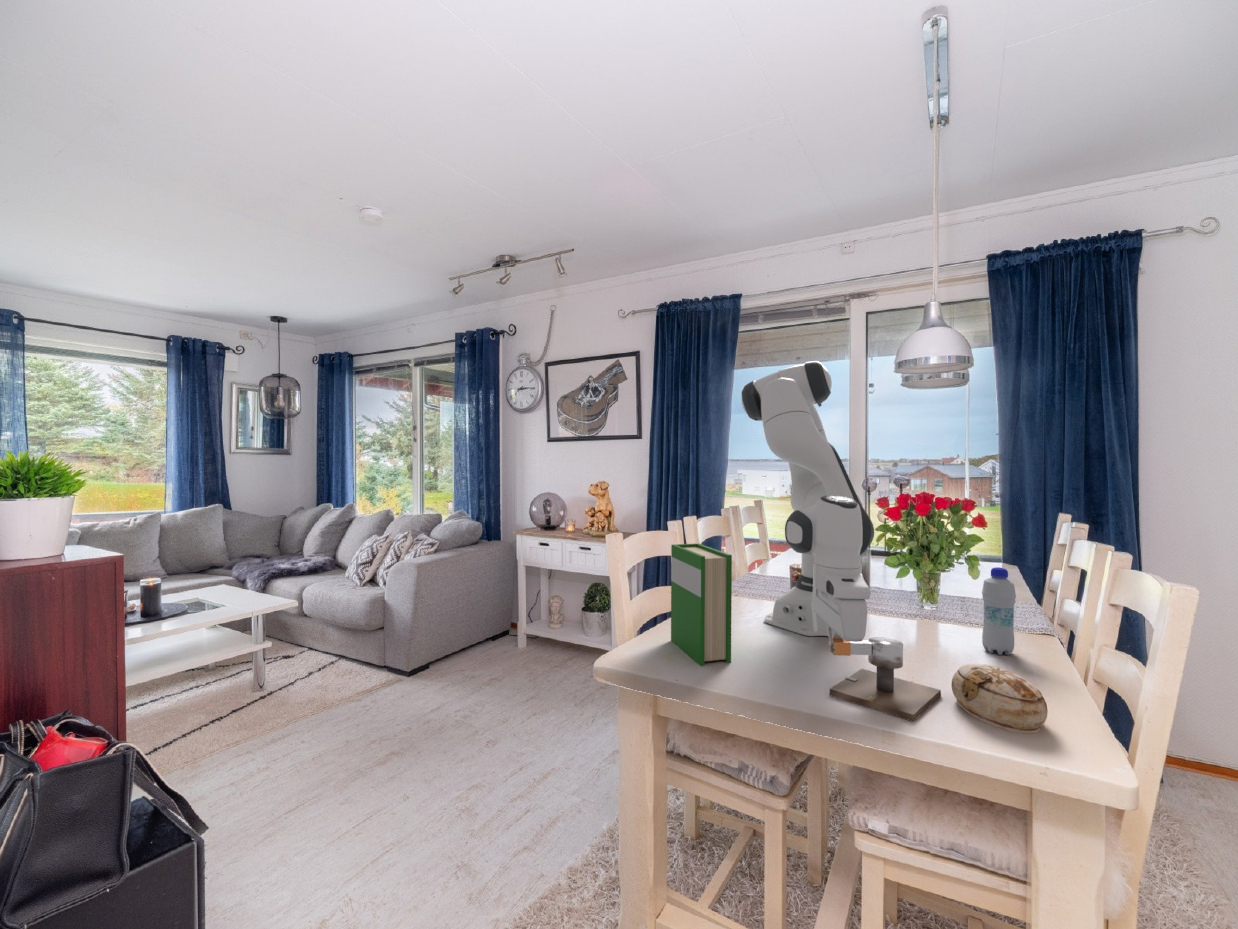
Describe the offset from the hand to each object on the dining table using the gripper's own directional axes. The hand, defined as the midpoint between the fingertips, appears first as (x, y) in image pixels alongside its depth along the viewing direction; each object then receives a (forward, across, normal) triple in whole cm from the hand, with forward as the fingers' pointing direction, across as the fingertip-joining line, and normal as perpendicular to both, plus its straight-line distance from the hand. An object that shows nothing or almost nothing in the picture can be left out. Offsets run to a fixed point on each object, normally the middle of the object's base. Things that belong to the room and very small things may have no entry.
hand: (834, 648), depth 110 cm
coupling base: (+8, +3, +9) cm, 12 cm away
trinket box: (+8, +10, +26) cm, 28 cm away
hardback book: (+9, -20, -24) cm, 33 cm away
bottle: (+8, -24, +46) cm, 53 cm away
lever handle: (+2, +3, +5) cm, 6 cm away
